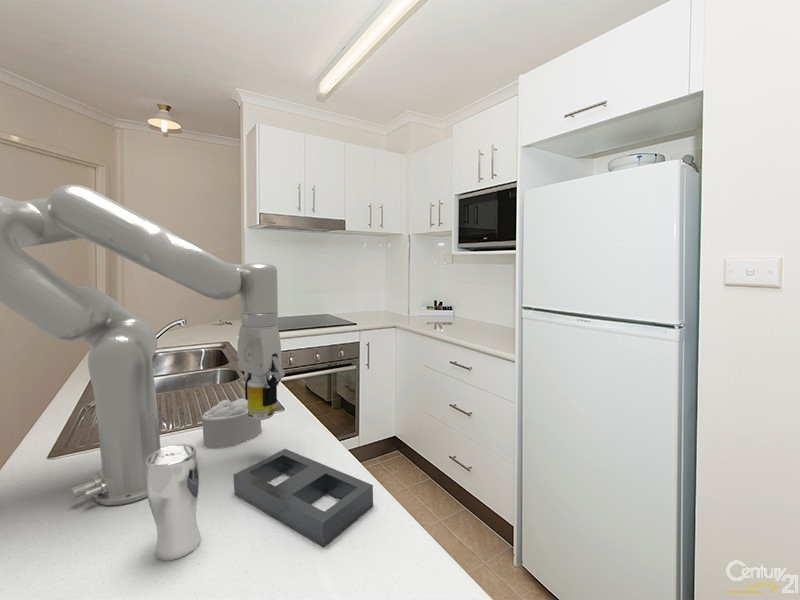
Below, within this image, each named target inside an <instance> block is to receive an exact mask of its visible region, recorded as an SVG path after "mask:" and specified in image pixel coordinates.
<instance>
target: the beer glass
mask: <svg viewBox="0 0 800 600" xmlns="http://www.w3.org/2000/svg"><path fill="white" fill-rule="evenodd" d="M196 448H197V447H195V446H194V445H192V444H188V443H187V444H186V443H178V444H173V445H169V446H165V447H162V448H161V449H159V450H157V451H155V452H153V453H152V454H150V455H149V456H148V457H147V458H146V490H147V497H146V498H147V500H148V505H149V507H150V511H151V514H152V517H153V521H154V523H155V527H156V528H155V529H156V544H155V545H156V546H155V556H156V558H157V559H159V560H161V561H165V562H166V561H168V560H169V561H175V560H178V559H180V558H183V557H186V556H187V555H189V554H191V553H192V552H193V551H194V550H195V549H196V548H197V547H198V546H199V545H200V543H201V533H200V529H199V526H198V524H197V507H198V501H199V500H198V499H199V493H200V471H199V464H198V457H197V450H196Z"/></svg>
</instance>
